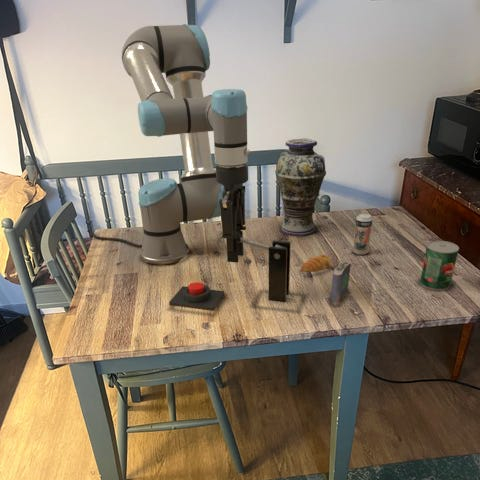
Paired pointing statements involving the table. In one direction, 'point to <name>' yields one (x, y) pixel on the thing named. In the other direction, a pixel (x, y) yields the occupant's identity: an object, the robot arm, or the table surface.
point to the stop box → (197, 299)
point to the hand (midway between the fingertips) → (235, 257)
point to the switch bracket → (279, 271)
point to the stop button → (196, 288)
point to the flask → (340, 280)
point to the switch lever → (254, 242)
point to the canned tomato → (439, 265)
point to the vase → (299, 185)
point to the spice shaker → (362, 234)
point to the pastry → (317, 263)
